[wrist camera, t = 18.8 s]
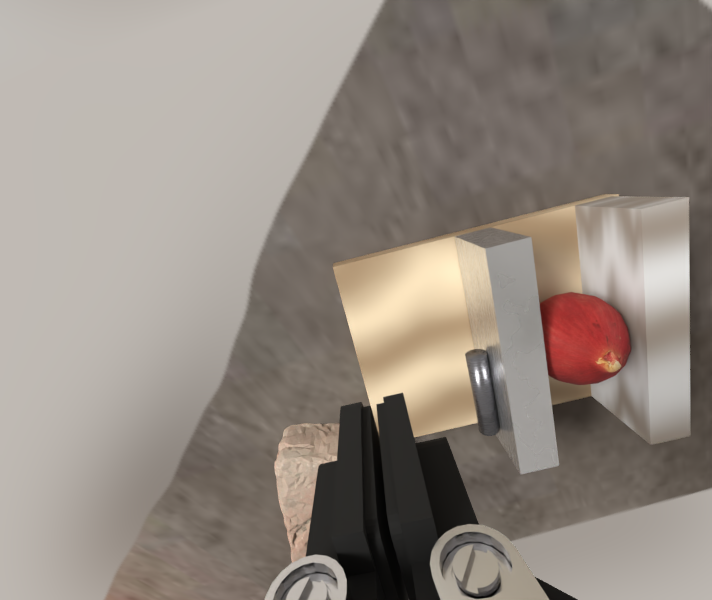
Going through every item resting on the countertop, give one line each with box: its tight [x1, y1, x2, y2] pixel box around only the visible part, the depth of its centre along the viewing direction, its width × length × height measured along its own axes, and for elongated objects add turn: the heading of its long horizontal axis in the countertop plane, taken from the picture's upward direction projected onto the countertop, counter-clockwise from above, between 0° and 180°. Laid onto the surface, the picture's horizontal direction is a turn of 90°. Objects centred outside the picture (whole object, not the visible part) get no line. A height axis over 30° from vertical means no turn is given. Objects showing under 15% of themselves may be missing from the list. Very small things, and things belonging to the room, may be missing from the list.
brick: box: [275, 423, 378, 563], centre depth 32 cm, size 17×8×5 cm, turn 5°
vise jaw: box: [455, 227, 559, 474], centre depth 25 cm, size 15×4×6 cm, turn 14°
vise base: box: [333, 194, 690, 445], centre depth 26 cm, size 15×20×8 cm
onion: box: [539, 292, 631, 385], centre depth 24 cm, size 6×6×8 cm
